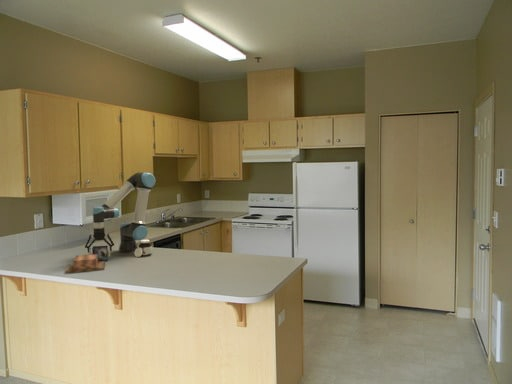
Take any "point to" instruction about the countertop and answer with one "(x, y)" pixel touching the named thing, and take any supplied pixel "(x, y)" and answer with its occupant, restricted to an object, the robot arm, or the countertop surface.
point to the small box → (101, 252)
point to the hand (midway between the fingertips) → (100, 256)
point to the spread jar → (144, 248)
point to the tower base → (99, 267)
